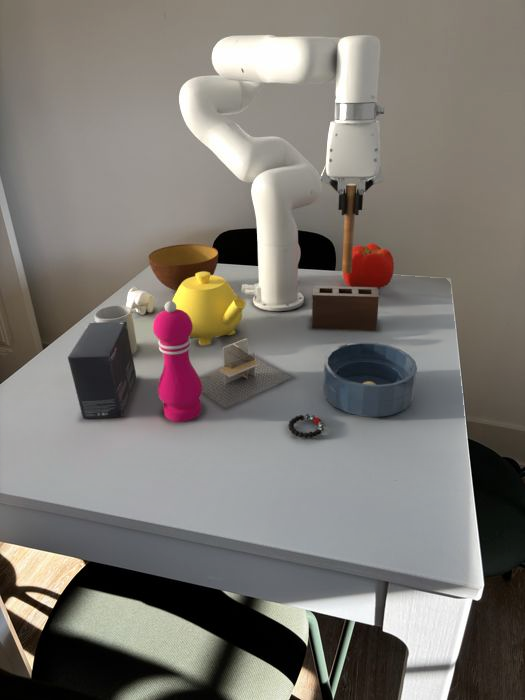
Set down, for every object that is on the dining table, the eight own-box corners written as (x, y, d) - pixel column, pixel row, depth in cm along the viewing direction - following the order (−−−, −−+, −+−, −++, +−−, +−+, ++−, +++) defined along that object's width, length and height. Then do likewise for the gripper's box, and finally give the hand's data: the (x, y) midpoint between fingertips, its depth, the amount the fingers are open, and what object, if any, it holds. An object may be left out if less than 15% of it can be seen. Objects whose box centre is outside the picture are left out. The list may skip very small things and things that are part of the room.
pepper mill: (163, 401, 91) (148, 294, 82) (204, 398, 91) (194, 291, 82) (159, 425, 85) (143, 312, 75) (203, 422, 85) (193, 309, 76)
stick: (342, 273, 110) (346, 185, 101) (341, 270, 112) (346, 183, 103) (351, 273, 110) (356, 185, 101) (351, 270, 111) (356, 183, 103)
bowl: (139, 294, 136) (133, 257, 131) (184, 275, 149) (181, 240, 144) (189, 308, 127) (185, 269, 122) (233, 286, 140) (231, 250, 135)
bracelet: (331, 431, 82) (331, 426, 81) (301, 444, 79) (301, 438, 79) (310, 414, 86) (310, 409, 86) (281, 425, 83) (281, 420, 83)
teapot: (271, 338, 112) (270, 277, 105) (214, 363, 102) (209, 298, 96) (213, 312, 125) (209, 256, 118) (158, 333, 115) (150, 273, 109)
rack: (376, 331, 114) (379, 296, 110) (311, 328, 115) (312, 295, 112) (374, 320, 118) (377, 287, 115) (313, 318, 120) (313, 285, 116)
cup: (142, 353, 107) (136, 313, 103) (94, 367, 102) (86, 326, 98) (129, 340, 112) (123, 302, 108) (83, 353, 107) (75, 314, 103)
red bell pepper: (382, 299, 129) (386, 258, 124) (333, 291, 135) (334, 251, 130) (398, 282, 139) (402, 244, 134) (352, 275, 145) (354, 238, 140)
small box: (100, 379, 98) (89, 321, 93) (137, 377, 98) (127, 319, 93) (80, 419, 87) (66, 356, 81) (122, 418, 87) (110, 354, 81)
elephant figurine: (121, 313, 126) (117, 289, 123) (150, 304, 130) (147, 281, 128) (134, 321, 121) (130, 297, 118) (164, 312, 126) (161, 288, 123)
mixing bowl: (322, 417, 85) (323, 384, 82) (324, 371, 99) (325, 340, 96) (417, 423, 83) (422, 388, 80) (407, 375, 97) (410, 344, 94)
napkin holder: (260, 379, 96) (259, 344, 93) (230, 393, 93) (228, 356, 89) (249, 372, 99) (247, 337, 95) (219, 385, 95) (216, 349, 92)
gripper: (397, 111, 98) (388, 209, 107) (313, 112, 101) (311, 209, 109) (401, 114, 92) (391, 218, 100) (311, 115, 94) (309, 217, 103)
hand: (349, 213), depth 105 cm, fingers closed on stick, 2 cm apart
